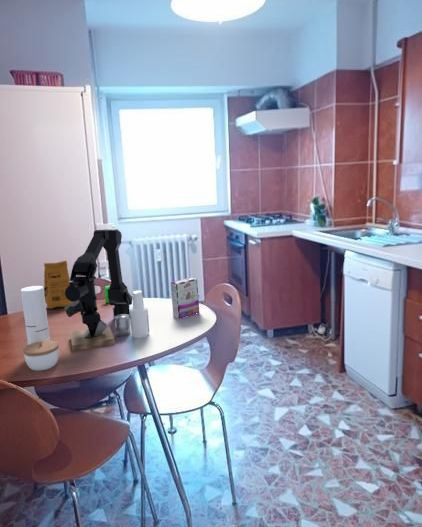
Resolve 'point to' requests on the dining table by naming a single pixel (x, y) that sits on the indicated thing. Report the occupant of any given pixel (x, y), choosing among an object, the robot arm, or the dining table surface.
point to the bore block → (91, 339)
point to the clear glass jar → (122, 325)
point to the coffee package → (56, 284)
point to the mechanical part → (106, 294)
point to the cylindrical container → (35, 314)
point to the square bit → (99, 330)
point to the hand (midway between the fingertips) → (91, 333)
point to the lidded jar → (41, 354)
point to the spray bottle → (139, 316)
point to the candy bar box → (185, 297)
